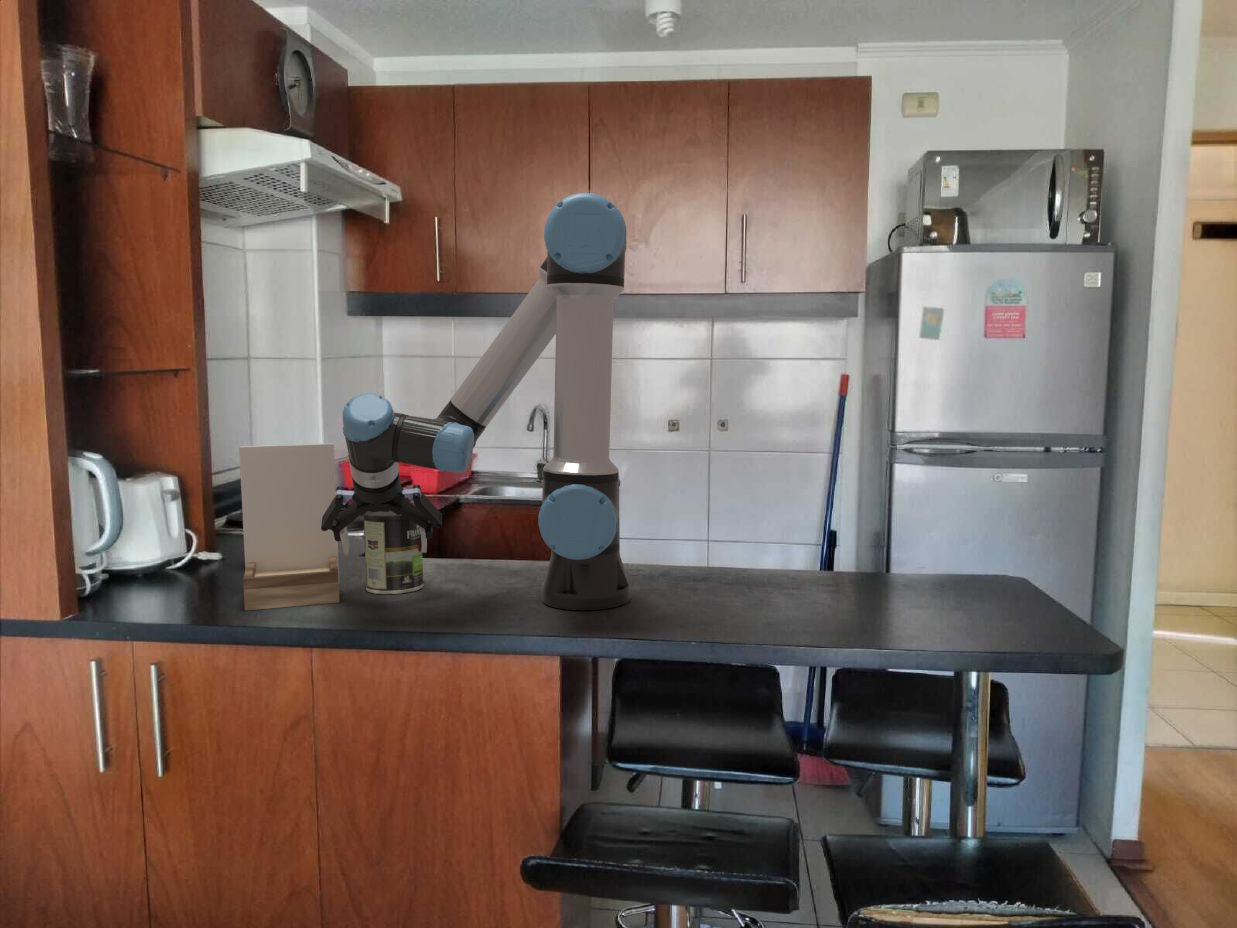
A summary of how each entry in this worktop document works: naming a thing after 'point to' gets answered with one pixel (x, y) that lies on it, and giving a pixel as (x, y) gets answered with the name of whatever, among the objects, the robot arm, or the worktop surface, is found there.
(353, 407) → the robot arm
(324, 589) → the shelf
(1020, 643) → the worktop surface
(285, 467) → the beige flat upright panel
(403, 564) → the coffee can
